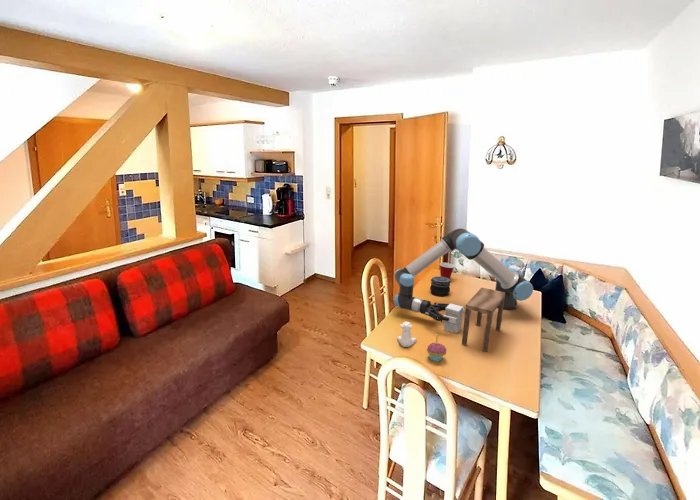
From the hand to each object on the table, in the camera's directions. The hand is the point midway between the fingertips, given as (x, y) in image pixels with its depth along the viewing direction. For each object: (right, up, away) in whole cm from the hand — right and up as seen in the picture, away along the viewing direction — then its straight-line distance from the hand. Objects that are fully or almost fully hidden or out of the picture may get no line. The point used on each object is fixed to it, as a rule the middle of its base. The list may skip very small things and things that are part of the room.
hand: (460, 316), depth 196 cm
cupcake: (-18, -15, -25) cm, 34 cm away
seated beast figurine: (-30, -11, -12) cm, 34 cm away
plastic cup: (+12, +12, +77) cm, 79 cm away
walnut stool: (+10, -10, -4) cm, 14 cm away
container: (+2, +6, +53) cm, 53 cm away
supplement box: (-3, -8, +4) cm, 9 cm away
